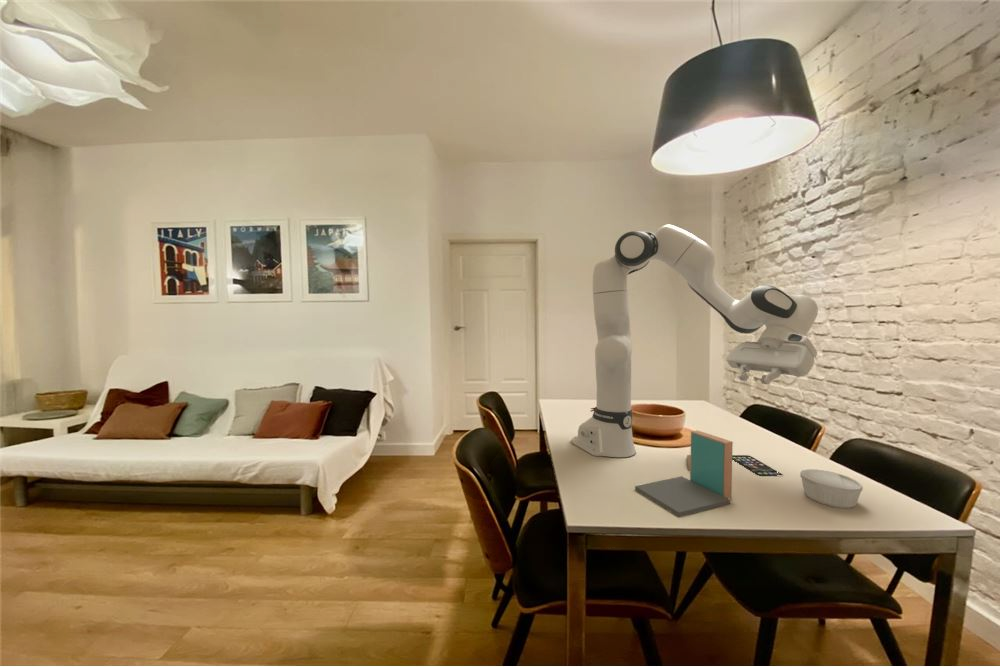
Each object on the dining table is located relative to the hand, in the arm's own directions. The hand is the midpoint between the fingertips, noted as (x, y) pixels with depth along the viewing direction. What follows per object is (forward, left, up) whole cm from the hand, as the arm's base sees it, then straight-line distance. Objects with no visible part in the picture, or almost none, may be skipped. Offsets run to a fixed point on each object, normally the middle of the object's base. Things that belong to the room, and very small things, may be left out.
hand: (752, 380), depth 99 cm
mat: (-5, -24, -27) cm, 37 cm away
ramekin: (+15, +6, -28) cm, 32 cm away
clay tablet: (-12, 0, -28) cm, 31 cm away
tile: (-3, -14, -27) cm, 31 cm away
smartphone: (-5, +13, -28) cm, 31 cm away
